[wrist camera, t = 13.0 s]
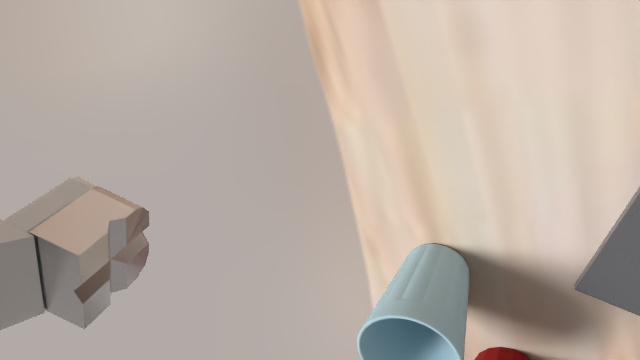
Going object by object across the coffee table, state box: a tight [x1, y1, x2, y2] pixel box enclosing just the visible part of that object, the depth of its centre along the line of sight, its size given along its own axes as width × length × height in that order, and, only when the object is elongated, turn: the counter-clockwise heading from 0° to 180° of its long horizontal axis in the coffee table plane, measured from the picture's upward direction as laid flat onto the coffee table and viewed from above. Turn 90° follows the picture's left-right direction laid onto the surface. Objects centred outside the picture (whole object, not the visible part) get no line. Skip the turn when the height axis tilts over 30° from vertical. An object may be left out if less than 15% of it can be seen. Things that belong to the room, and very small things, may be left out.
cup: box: [357, 244, 469, 360], centre depth 43 cm, size 8×8×10 cm
